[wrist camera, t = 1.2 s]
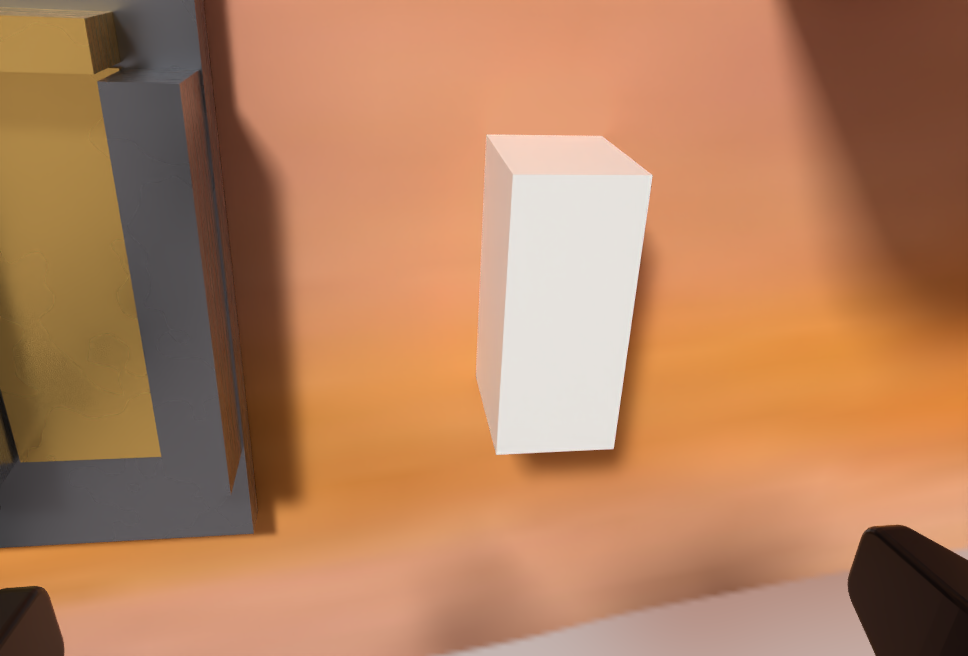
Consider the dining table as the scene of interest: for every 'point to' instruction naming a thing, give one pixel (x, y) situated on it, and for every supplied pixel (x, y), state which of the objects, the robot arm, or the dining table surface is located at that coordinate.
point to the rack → (116, 281)
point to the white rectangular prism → (557, 289)
